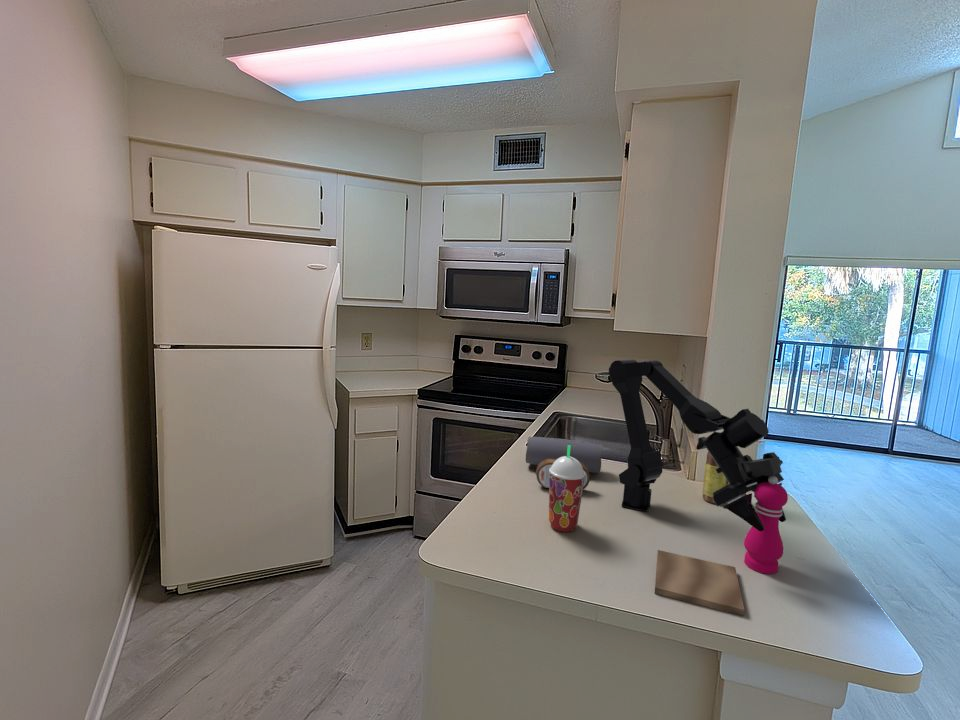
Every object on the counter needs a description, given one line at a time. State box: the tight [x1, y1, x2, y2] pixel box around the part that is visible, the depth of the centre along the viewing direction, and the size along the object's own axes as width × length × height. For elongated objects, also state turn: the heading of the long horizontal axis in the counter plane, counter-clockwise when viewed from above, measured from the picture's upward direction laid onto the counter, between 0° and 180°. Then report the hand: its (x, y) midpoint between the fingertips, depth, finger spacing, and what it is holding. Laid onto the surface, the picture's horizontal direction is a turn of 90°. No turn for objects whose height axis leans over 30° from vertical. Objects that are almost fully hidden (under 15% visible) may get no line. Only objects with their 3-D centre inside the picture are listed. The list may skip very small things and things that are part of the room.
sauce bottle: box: [702, 429, 729, 505], centre depth 137 cm, size 7×6×20 cm
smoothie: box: [548, 445, 585, 533], centre depth 117 cm, size 8×8×20 cm
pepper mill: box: [743, 476, 789, 575], centre depth 104 cm, size 7×7×20 cm
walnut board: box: [654, 549, 745, 617], centre depth 98 cm, size 15×15×1 cm
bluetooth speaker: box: [525, 436, 603, 473], centre depth 154 cm, size 23×9×10 cm, turn 77°
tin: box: [535, 459, 591, 490], centre depth 140 cm, size 15×3×8 cm, turn 84°
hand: (773, 525), depth 102 cm, fingers open, 8 cm apart
